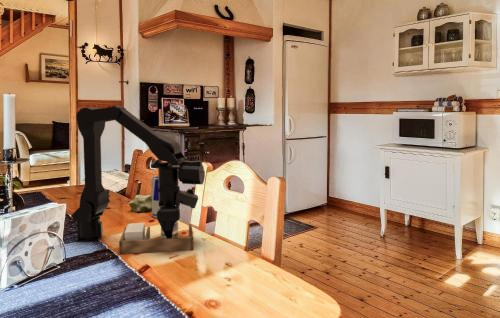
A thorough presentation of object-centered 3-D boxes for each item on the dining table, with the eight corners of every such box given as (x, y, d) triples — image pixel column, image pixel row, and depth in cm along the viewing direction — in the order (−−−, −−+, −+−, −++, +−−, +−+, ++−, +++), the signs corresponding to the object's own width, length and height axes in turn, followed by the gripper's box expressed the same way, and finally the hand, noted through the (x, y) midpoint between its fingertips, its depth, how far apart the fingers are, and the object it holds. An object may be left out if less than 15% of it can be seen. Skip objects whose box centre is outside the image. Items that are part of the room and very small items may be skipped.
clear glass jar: (160, 246, 118) (160, 226, 117) (161, 240, 123) (160, 221, 122) (178, 245, 119) (178, 225, 118) (178, 239, 124) (178, 220, 123)
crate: (119, 254, 111) (119, 241, 110) (125, 238, 125) (125, 227, 124) (193, 249, 114) (193, 237, 114) (191, 234, 128) (191, 224, 128)
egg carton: (125, 251, 113) (124, 232, 113) (128, 241, 122) (128, 223, 122) (142, 250, 114) (142, 231, 114) (145, 240, 123) (144, 222, 122)
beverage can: (162, 219, 147) (161, 178, 145) (149, 218, 148) (148, 177, 146) (168, 215, 152) (167, 175, 150) (155, 214, 153) (154, 175, 151)
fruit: (158, 212, 162) (159, 193, 160) (141, 219, 154) (142, 200, 152) (141, 205, 166) (142, 187, 164) (124, 212, 158) (125, 193, 156)
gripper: (197, 188, 111) (198, 243, 113) (195, 177, 129) (195, 225, 131) (156, 189, 109) (157, 246, 111) (159, 178, 127) (160, 226, 129)
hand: (169, 235), depth 120 cm, fingers open, 9 cm apart
